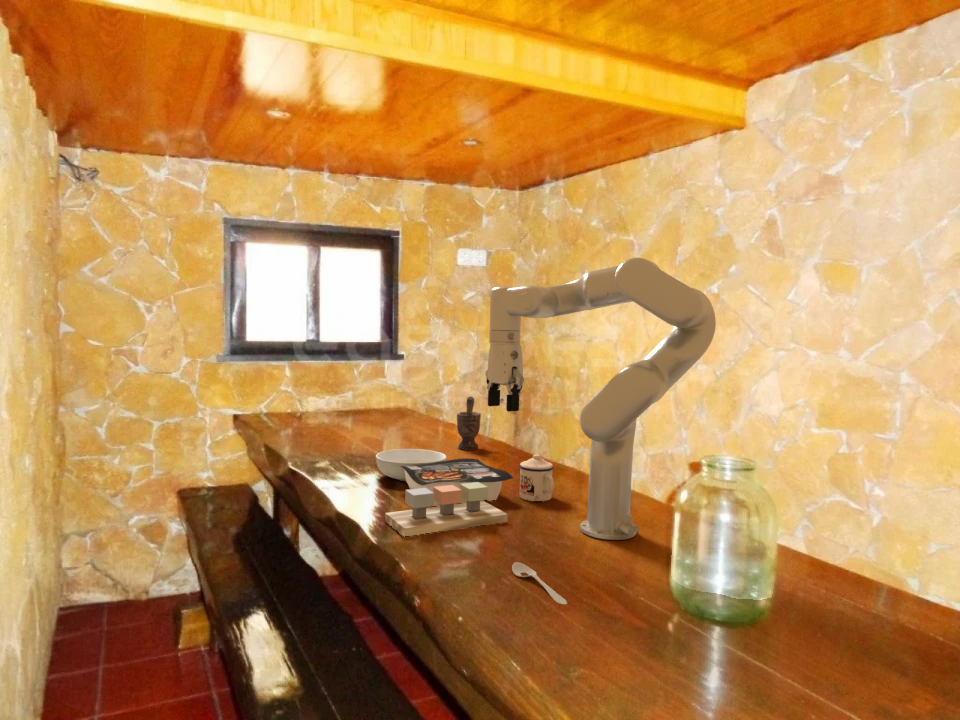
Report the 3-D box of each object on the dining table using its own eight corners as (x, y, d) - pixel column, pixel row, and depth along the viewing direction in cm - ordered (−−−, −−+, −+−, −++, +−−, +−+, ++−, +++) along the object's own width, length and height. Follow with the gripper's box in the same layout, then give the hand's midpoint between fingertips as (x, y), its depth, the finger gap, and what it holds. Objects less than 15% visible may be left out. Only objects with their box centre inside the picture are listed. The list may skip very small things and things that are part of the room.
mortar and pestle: (487, 452, 234) (488, 396, 233) (465, 453, 230) (466, 397, 229) (474, 445, 245) (475, 392, 243) (452, 447, 241) (453, 393, 240)
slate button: (433, 518, 149) (434, 493, 149) (413, 520, 147) (413, 495, 147) (424, 511, 154) (425, 487, 153) (404, 514, 152) (405, 489, 151)
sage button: (487, 510, 156) (487, 486, 156) (468, 513, 154) (469, 489, 153) (477, 505, 160) (478, 481, 160) (459, 507, 158) (459, 483, 158)
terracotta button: (460, 514, 153) (461, 489, 152) (441, 517, 150) (442, 492, 150) (451, 508, 157) (452, 484, 157) (432, 511, 155) (433, 486, 154)
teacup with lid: (512, 495, 178) (513, 453, 178) (539, 491, 183) (540, 450, 182) (537, 506, 168) (539, 462, 167) (565, 502, 173) (567, 459, 172)
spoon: (524, 568, 128) (524, 560, 128) (586, 612, 110) (586, 602, 110) (505, 571, 126) (506, 563, 126) (565, 616, 108) (566, 607, 108)
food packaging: (422, 482, 161) (396, 462, 182) (421, 512, 161) (395, 489, 182) (513, 475, 171) (478, 457, 192) (512, 503, 172) (477, 482, 192)
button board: (507, 522, 155) (507, 514, 155) (404, 537, 143) (404, 528, 142) (483, 508, 165) (483, 500, 165) (385, 521, 153) (385, 512, 153)
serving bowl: (455, 484, 189) (456, 460, 188) (384, 489, 181) (384, 464, 181) (433, 467, 208) (434, 446, 208) (368, 472, 201) (369, 449, 200)
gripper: (537, 339, 153) (535, 412, 154) (500, 336, 169) (499, 403, 170) (509, 339, 150) (507, 414, 151) (474, 336, 165) (473, 404, 166)
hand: (503, 408), depth 160 cm, fingers open, 8 cm apart
